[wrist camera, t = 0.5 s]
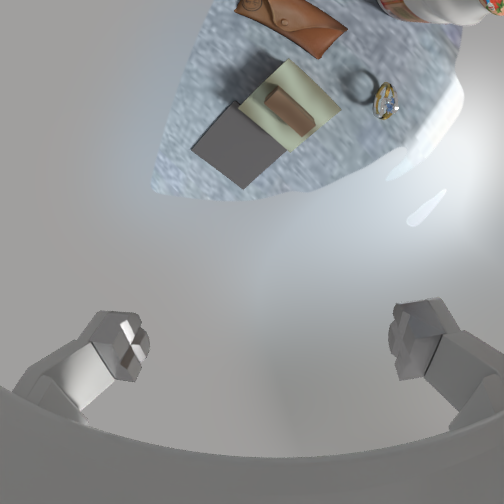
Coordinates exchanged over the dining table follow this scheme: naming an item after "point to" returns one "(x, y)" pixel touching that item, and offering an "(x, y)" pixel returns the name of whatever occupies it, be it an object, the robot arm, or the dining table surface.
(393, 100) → the ring
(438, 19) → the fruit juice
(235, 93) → the dining table surface
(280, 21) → the sunglasses case
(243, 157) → the mat
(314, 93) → the lid
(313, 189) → the dining table surface
